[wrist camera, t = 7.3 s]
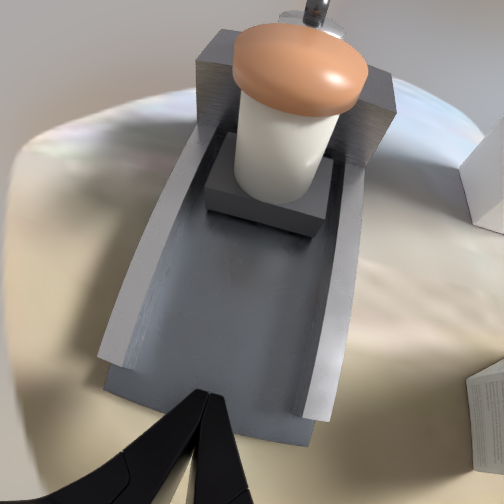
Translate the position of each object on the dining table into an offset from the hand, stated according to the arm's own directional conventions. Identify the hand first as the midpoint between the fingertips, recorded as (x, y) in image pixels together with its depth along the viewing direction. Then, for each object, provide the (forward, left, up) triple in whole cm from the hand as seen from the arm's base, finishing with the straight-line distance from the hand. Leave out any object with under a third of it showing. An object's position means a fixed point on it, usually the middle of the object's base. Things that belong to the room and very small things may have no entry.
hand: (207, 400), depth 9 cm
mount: (+8, +3, -7) cm, 11 cm away
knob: (+10, +4, -5) cm, 12 cm away
